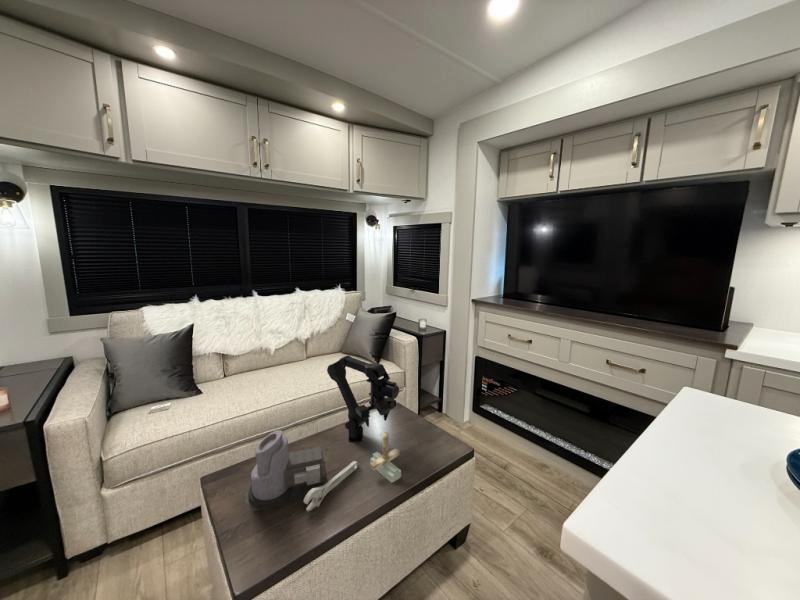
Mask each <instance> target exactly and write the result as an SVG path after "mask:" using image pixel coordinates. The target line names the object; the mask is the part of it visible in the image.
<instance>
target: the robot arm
mask: <svg viewBox="0 0 800 600" xmlns="http://www.w3.org/2000/svg"><path fill="white" fill-rule="evenodd" d="M346 368H349V369H352V370H355V371H357V372H360V373H363V374H364V375H365V376H366V378H368V379H366V382H367V383H369V384H370V391H369V392H368V396H369V397H370V400H369V401H368V403H369V404H370V405H369V406H366V405H365V404H362V405H359V404H358V402H357V399H356V398H355V395H354V393H353V391H352V389H351V387H350V384H349V381H348V380H347V369H346ZM326 372H327V375H328V376H329V378H330V379H331V380H332V381H334V382H335V383H336V384H337V387H338V390H339V392H340V394H341V396H342V398H343V401H344V402H345V403H344V404H345V405H346V407H347V409H348V412H347V413H348V414H347V418H348V422H346V423H345V424H344V427H345V429H347V430H348V439H347V440H348V442H361V441H363V438H364V426H363V425H364V424H365V425H366V427H368V428H369V427H370V417H371V415H370V413H371V412H372V411H375V410H376V411H377V412H378V414H379V415H380V416H383V420H384V422H386V421H387V419H388V417H389V415H390V412H391V411H392V410H393V409H395V407H397V406H398V405H397V404H398V402H397V400H396V398H397V397H398V396H399V393H400V388H399V386H398V385H397V382H395V381H390V380H391V377H390V375H389V373H388V372H387V370H386V368H385V365H383V363H382V364H381V363H377V362H375V363H373V362H372V363H369V362H366V361H363V360H360V359H358V358H354V357H352V356H350V355H344V356H343V357H341V358H339V359H338V360H337V361H336V362H334V363H331V364H329V365H328V366H327V369H326Z"/></svg>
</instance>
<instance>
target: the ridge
mask: <svg viewBox="0 0 800 600" xmlns="http://www.w3.org/2000/svg"><path fill="white" fill-rule="evenodd" d="M382 456H383V454H381V453H379V452H378V451H376V452H374V453H372V457H371V458H370V459H369V461H370V463H371V462H373V461H375V460H377V459H378V458H380V457H382ZM370 463H369V464H370ZM375 471H377V472H378V473H380V474H381V476H383V477H384V478H385V479H386V480H387V481H389V483H391V484H393V483H394V482H395V481H398V480H399V479H401V477H402V470H401V469H400V468H399V467H397V466H396V465H395V464H394V463H393V462H391V461H389V462H388V463H386V464H384V465H383V466H381V467H379V468H378V469H376V470H375Z"/></svg>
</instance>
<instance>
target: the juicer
mask: <svg viewBox="0 0 800 600" xmlns="http://www.w3.org/2000/svg"><path fill="white" fill-rule="evenodd" d="M254 453H255V458H256V464H255V466H254V467H253V469H252V471H251V474H250V477H251V479H250V480H251V484H250V487H249V489H248V491H247V493H246V495H245V497H246V498H245V497H244V503H245V502H246V505H247V507H248V508H249V509H250V510H251V511H250V510H249V509H248V508H247V507H246V508H247V509H248V510H249V511H250V512H252V511H254V512H257V510H258V511H272V510H275V509H277V508H279V507H281V506H283V505H285V504H286V503H287V502H289V501H293V500H297V499H301V498H305V496H306V494H307V493H308V492H309V491H310V490H311V489H312V488H317V487H320V486H323V485H325V484H326V483H327V482H329V481H328V476H327V470H326V458H325V454H324V450H323V449H322V447H321V446H317V447H311V448H307V449H301V450H295V451H292V452H289V438H288V436H287V435H285V434H283V430H280V429H278V430H274V431H272V432H271V433H268V434H267V435H266V436H265V437H264V438H263V439H262V440H261V441H260V442H259V443H258V444H257V446H256V448H255V451H254ZM245 499H246V500H245ZM246 505H245V506H246Z"/></svg>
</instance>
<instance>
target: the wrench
mask: <svg viewBox="0 0 800 600" xmlns="http://www.w3.org/2000/svg"><path fill="white" fill-rule="evenodd" d="M358 466H359V461H356V460H353V461H352V462H350V463H349V464H348V465H347V466H345V468H343V469H342V470H340V471H339V473H337V474H336V475H334V477H332V478H331V479H329V481H328V482H327V483H326V484H325V485H323V486H320V487H317V488H312V489H311V490H310V491H309V492H308V493H307V494H306V496H305V497H303V503H304V504H306V505H307V507H306V508H305V509H306V511H307V512H309V511H312V510H314V509H316V507H317V508H319V507H320V505H321V503H322V501H323V500H324V498H325V497H326V495H327V494H328V493H329V492H330V491H332V490H333V489H334V488H335V487H336V486H337V485H339V484H340V483H341V482H342V481H344V480H345V479H346V478H347V477H348V476H350V475H351V474H352V473H353V472H354V471H355V470H356V469H358ZM310 501H311V502H310ZM309 502H310V503H309Z"/></svg>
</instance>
